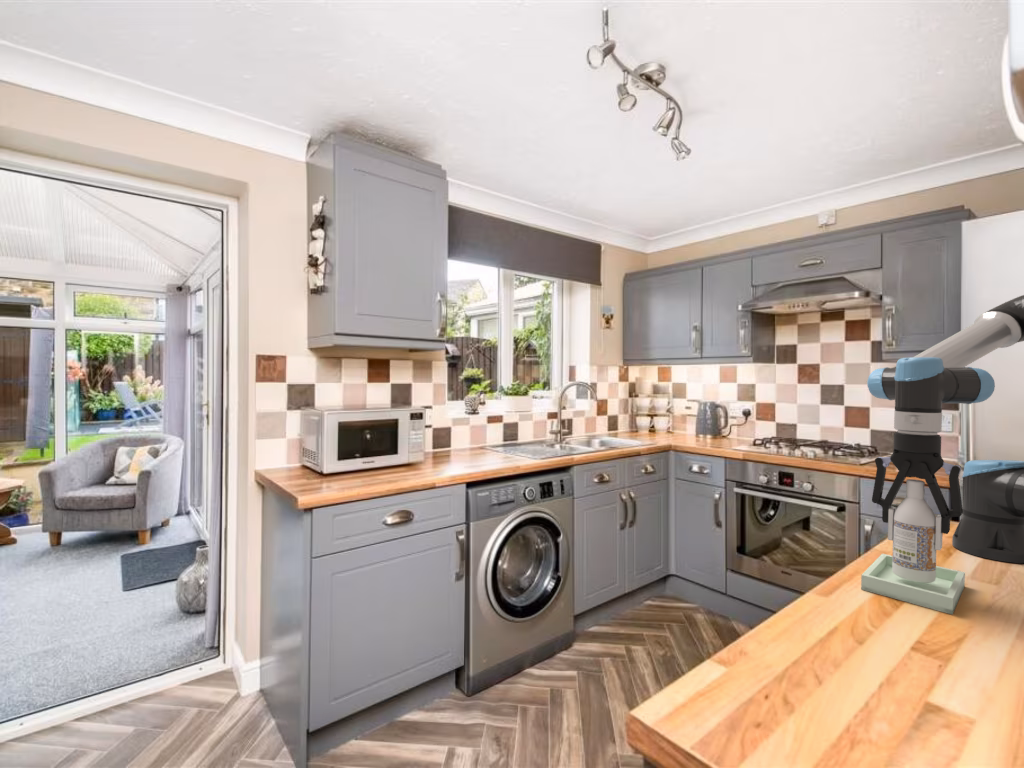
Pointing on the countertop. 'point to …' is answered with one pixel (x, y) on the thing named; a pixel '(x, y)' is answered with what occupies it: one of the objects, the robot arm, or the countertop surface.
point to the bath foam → (914, 536)
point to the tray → (915, 586)
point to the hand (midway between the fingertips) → (914, 543)
